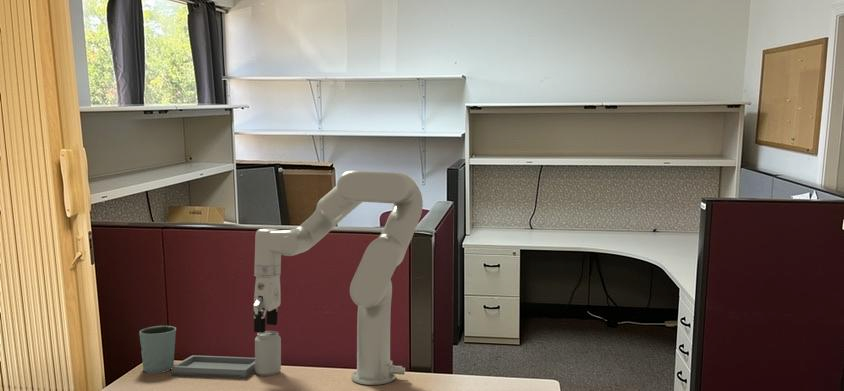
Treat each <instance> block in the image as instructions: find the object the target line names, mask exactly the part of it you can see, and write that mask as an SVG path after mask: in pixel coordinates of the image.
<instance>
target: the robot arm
mask: <svg viewBox="0 0 844 391" xmlns="http://www.w3.org/2000/svg"><path fill="white" fill-rule="evenodd" d="M423 202H424V201H423V195H422V192H421V190H420V188H419V186H418V184H417V183H416V182H415V181H414V179H412V177H411V176H410V175H407V174H404V173H402V172H393V171H392V172H391V171H389V172H387V171H386V172H385V171H382V172H381V171H363V170H357V169H356V170H355V169H352V170H347V171H345V172H344V173H342V174H341V175H340V176H339V178H338V180H337V183H336V185H335V186H334V187H333V188H332V189H331V190H330V191H328V193H326V194H325V195H324V196H322V197H321V198H320V199H319V200H318V202H317V203H316V208H315V209H314V210H315V211H314V212H313V213H312V214H311V215H310V216H309V217H308V218H307V219H305V221H304V222H302V223H301V224H300V225H299V226H297V227H296V228H292V229H285V230H280V229H277V228H260V229H257V230H256V232H255V239H254V240H255V242H254V244H255V245H254V271H253V272H254V273H253V276H254V277H256V278H255V284H254V293H253V294H254V296H253V332H255V333H259V332H261V333H264V332H265V331H266V325H267V326H269V325H271V326H276V325H278V311H279V308H278V307H280V306H281V302H282V301H281V300H282V299H281V297H282V296H281V293H282V292H281V269H282V268H281V266H282V263H281V262H282V256H285V257H292V256H297V255H299V254H302V253H305V252H307V251H309V250H310V249H311V248H312V247H314V246H315V245H316V244H317V243H319V242H320V241H321V240H322V239H323V238H325V236H326V235H328V233H330V232H331V231H332V230H333V229H334V228H335V227H336V226H337V225H338V224H339V223H340V222H341V221H342V220H343V219H345V217H347V216H348V215H350V213H351V212H353V211H354V210H355V209H356V208H358V207H359V206H360V205H361V204H362V203H380V204H381V203H382V204H393V207H392V210H391V211H390V214H389V215H388V218H387V220H386V223H385V225H384V226H383V229H382V231H381V232H380V235H379V236H378V237H377V238H376V239H374V240H372V241H371V242H370V243H369V244H368V246H367V247H366V249H365V251H364V253H363V255H362V258H361V259H360V261H359V264H358V266H357V268H356V270H355V273H354V276H353V277H352V279H351V282H350V286H349V295H350V298H351V299H350V300H352V302H353V303H354V304H355V305H357V316H356V317H357V324H356V334H357V335H356V370H355V371H354V372H352V373H351V380H352V381H353V382H355V383H356V384H360V385H368V386H369V385H370V386H374V385H376V386H378V385H384V384H389V383H391V382H393V381H394V380H396V375H404V376H405V375H406V367H403V366H402V365H394V364H393V360H391V314H392V313H391V308H392V299H393V298H392V296H393V283H392V279H391V278H392V277H393V275H394V272H395V270H396V268H397V267H398V266H400V265H401V263H402V262H403V260H404V258H405V255H406V253H407V250H408V249H409V248H408V247H409V245H410V244H411V241H412V239H413V236H414V234H415V231H416V228H417V227H418V224H419V222H420V219H421V216H422V212H423V206H424V205H423ZM265 317H266V318H265Z"/></svg>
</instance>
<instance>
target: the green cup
mask: <svg viewBox="0 0 844 391" xmlns="http://www.w3.org/2000/svg"><path fill="white" fill-rule="evenodd" d="M176 332H177V327H175V326H172V325H156V326H155V325H154V326H149V327H145V328H142V329H140V330H139V332H138V333H139V334H138V335H139V342H140V343H139V344H140V347H141V351H140V352H141V358H142V371H143V370H144V371H145V372H144V371H143V372H144V373H146V372H148V373H147V374H159V372H161V373H164V372H163V371H166V372H168V371H167V370H169V369H171V368H172V366H174V365H175V348H176V346H175V345H176V334H177V333H176Z"/></svg>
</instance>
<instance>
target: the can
mask: <svg viewBox="0 0 844 391" xmlns="http://www.w3.org/2000/svg"><path fill="white" fill-rule="evenodd" d="M281 356H282V338H281V336H280V335H279V331H275V330H265V332H264V333H261V332H256V337H255V338H254V358H255V372H254V373H256V374H257V375H258V376H261V377H270V376H274V375H277V374H278V373H279V372H281V369H282V357H281Z"/></svg>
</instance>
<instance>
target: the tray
mask: <svg viewBox="0 0 844 391" xmlns="http://www.w3.org/2000/svg"><path fill="white" fill-rule="evenodd" d="M254 373H256V372H255V357H244V356H243V357H241V356H221V355H219V356H216V355H191V356H189V357H186V358H185V359H183V360H181V361H180V362H177V363H176V364H174V366H172V370H171V376H176V377H198V378H199V377H202V378H217V379H218V378H219V379H221V378H222V379H241V380H243V379H244V380H246V379H248V377H250V376H251V375H253V374H254Z"/></svg>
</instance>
